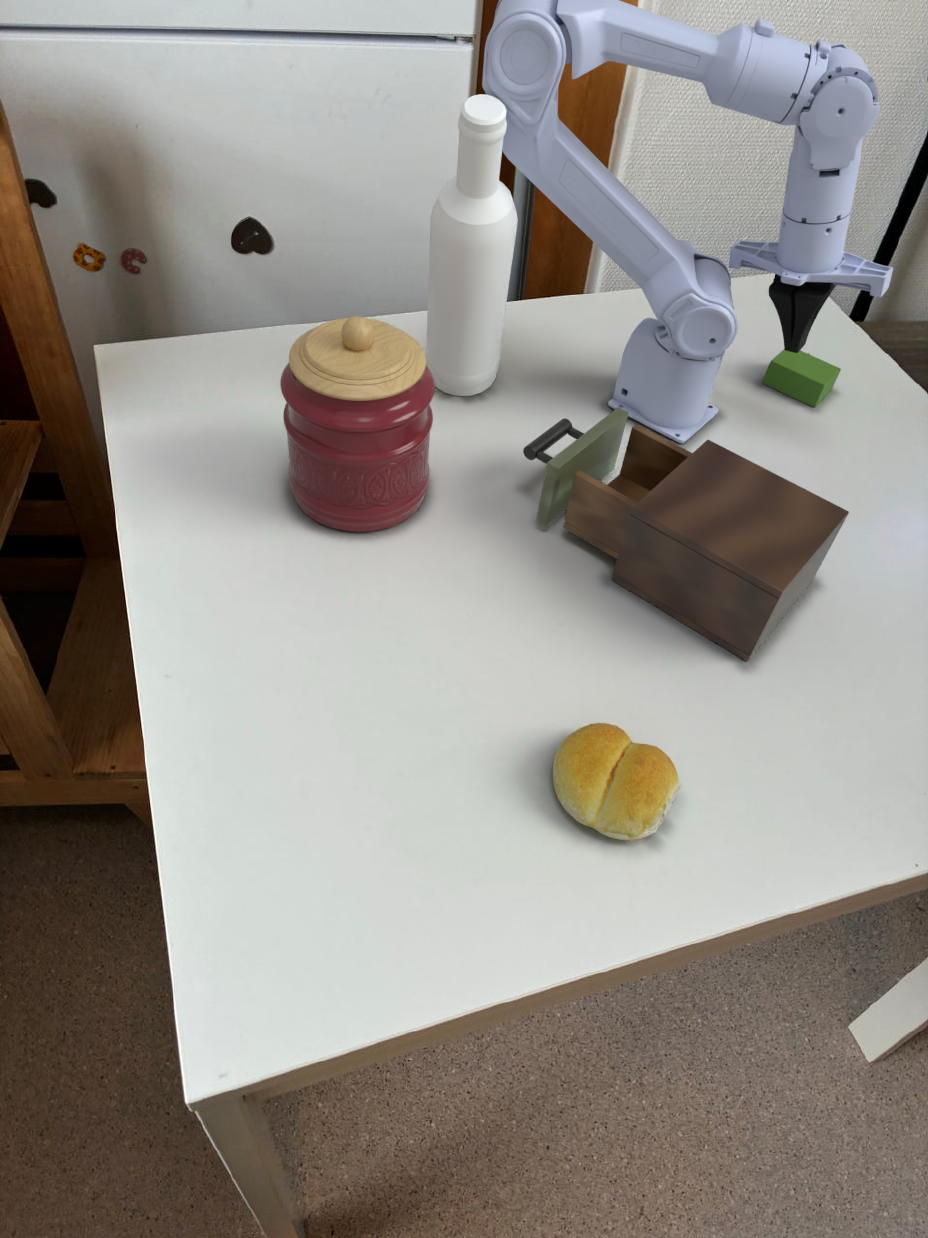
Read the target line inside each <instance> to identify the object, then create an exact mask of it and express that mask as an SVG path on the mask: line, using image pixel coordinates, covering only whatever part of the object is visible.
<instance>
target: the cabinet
mask: <svg viewBox="0 0 928 1238" xmlns="http://www.w3.org/2000/svg"><path fill="white" fill-rule="evenodd" d="M691 453H692V454H691V455H690V456H689V457H688V458H687V459H685V460H684V461H683V462H682V463H681V464H680V465H679V466H678V467H677V468H676V469H674V470H673V471H672V472H671V473H670V474H669V475H668V476H667V477H666V478H664V479H663V480H662V481H661V482H660V483H659V484H658V485H657V486H656V487H654V488H653V489H652V490H651V491H650V492H649V493H648V494H647V495H646V496H645V497H643V498H642V499H641V500H640V501H639V502H638V503H637V504H636V505H635V506H633V507H632V511H631V514H630V517H629V521H628V524H627V528H626V531H625V534H624V538H623V541H622V545H621V548H620V552H619V555H618V558H617V559H616V562H615V565H614V569H613V573H612V576H611V581H612V582H615V583H616V584H618V585H619V586H621V587H623V588H625V590H627V591H629V592H630V593H633V594H634V595H636V596H638V597H640V598H641V599H643V600H644V601H646V602H647V603H649V604H651V605H653V606H655V607H656V608H658V609H659V610H661V611H662V612H664V613H666V614H667V615H669V616H671V617H673V618H674V619H675V620H677V621H679V622H680V623H682V624H684V625H685V626H687V627H689V628H690V629H692V630H694V631H696V632H697V633H699V634H700V635H702V636H704V637H705V638H707V639H708V640H710V641H712V642H713V643H715V644H716V645H718V646H720V647H721V648H723V649H725V650H726V651H729V652H730V653H731V654H733V655H735V656H737V657H738V658H740V659H742V660H743V661H745V662H749V661H750V659H751V658H752V657H753V656H754V655H755V653H756V652H757V651H758V649H759V648H760V647H761V646H762V644H763V643H764V642H765V641H766V640H767V638H768V637H769V636H770V634H771V633H772V632H773V631H774V630H775V628H777V626H778V625H779V623H780V622H781V621H782V620H783V618H785V616H786V615H787V613H788V612H789V611H790V610H791V608H792V607H794V605H795V604H796V603H797V601H798V600H799V599H800V597H801V596H802V595H803V594H804V593H805V592H806V590H807V589H808V588H809V586H810V585H811V584H812V582H813V581H814V579H815V577H816V576H817V573H818V572H819V570H820V568H821V566H822V564H823V562H824V560H825V559H826V557H827V555H828V552H829V551H830V550H831V547H832V545H833V543H834V541H835V540H836V538H837V536H838V534H839V532H840V530H841V528H842V527H843V525H844V523H845V521H846V519H847V517H848V515H849V514H850V511H849V510H847V509H846V508H845V509H844V508H843V507H841V506H839V505H837V504H835V503H833V502H831V501H829V500H827V499H825V498H823V497H821V496H820V495H817V494H815V493H814V492H812V491H810V490H808V489H806V488H804V487H802V486H800V485H798V484H796V483H794V482H792V481H790V480H788V479H787V478H784V477H782V476H780V475H778V474H777V473H774V472H772V471H771V470H769V469H767V468H765V467H763V466H761V465H759V464H757V463H755V462H753V461H752V460H749V459H747V458H745V457H743V456H742V455H739V454H737V453H735V452H733V451H731V450H730V449H727V448H726V447H724V446H722V445H720V444H719V443H716V442H714V441H712V440H710V439H706V440H705V441H704V442H703V443H702V444H700V445H699V447H698V448H696V449H695V450H694V451H693V452H691Z"/></svg>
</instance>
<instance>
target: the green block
mask: <svg viewBox="0 0 928 1238" xmlns="http://www.w3.org/2000/svg"><path fill="white" fill-rule="evenodd" d="M841 371H842V368H841V367H838V366H836V365H834V364H831V363H829V362H827V361H825V360H823V359H820V358H818V357H816V356H814V355H812V354H809V353H807V352H805V351H803V350H802V349H801V350H800V351H799V352H798V353H794V352H790V351H785V350H784V349H782V350H781V351H780V352H779V353H778V354H776V356H774V357H773V358H772V359H771V360H770V362H769V365H768V368H767V369H766V371H765V372H766V373H765V375H764V378H763V381H762V384H763V385H765V386H768V387H770V388H771V389H774V390H775V391H777V392H779V393H782V394H785V395H786V396H788V397H791V398H792V399H795V400H797V401H799V402H801V403H803V404H806V405H808V406H810V407H812V408H816V407H817V406H818V405H819V404H820V403H821V402H822V401H823V400H824V399H825V398H826V397H827V396H828V395H830V393H831V392H832V390H833V388H834V386H835V384H836V381H837V379H838V377H839V375H840V373H841Z"/></svg>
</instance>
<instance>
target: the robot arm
mask: <svg viewBox="0 0 928 1238" xmlns="http://www.w3.org/2000/svg"><path fill="white" fill-rule="evenodd" d="M607 62H613V63H618V64H623V65H626V66H630V67H635V68H639V69H644V70H647V71H651V72H656V73H660V74H665V75H669V76H673V77H677V78H681V79H686V80H689V81H692V82H693V81H694V82H696V83H697V82H698V83H701V84H702V85H703V87H704V88H705V92H706V94H707V97H708V99H709V101H710V103H711V104H712V105H714V106H718V107H721V108H723V109H727V110H730V111H734V112H736V113H737V112H738V113H741V114H743V115H748V116H750V117H754V118H758V119H761V120H764V121H767V122H771V123H774V124H777V125H781V126H795V128H794V135H793V136H794V137H793V142H792V150H791V152H790V155H789V159H788V167H787V168H788V169H787V173H786V182H785V190H784V196H783V197H784V198H783V204H782V212H781V218H780V219H781V220H780V227H779V234H778V241H751V240H743V239H739V240H738V241H737V242H736V243H735V244H734V245H733V246H732V247H730V250H729V260H728V266H727V265H726V263H724V261H723V260H721V259H720V258H719V257H716V256H714V255H711V254H707V253H704V252H702V251H700V250H698V249H697V248H696V247H695V246H694V245H693V244H691V242H690V241H688V240H684V239H678V238H676V237H675V236H674V235H673V234H671V232H670V231H669V230H668V229H667V228H666V227H665V226H664V225H663V224H662V223H661V222H660V221H659V220H658V219H657V218H656V217H655V216H654V215H653V214H652V213H651V212H650V211H649V210H648V209H647V208H646V207H645V206H644V205H643V203H641V201H640V200H639V199H638V198H637V197H636V196H635V195H633V193H632V192H631V191H630V190H629V189H628V188H627V187H626V186H625V185H624V184H623V183H622V182H621V181H620V180H619V179H618V177H616V176H615V175H614V174H613V173H612V172H611V171H610V170H609V169H608V168H607V167H606V166H605V165H604V164H603V163H602V161H600V160H599V158H598V157H596V155H595V154H593V152H591V150H590V149H589V148H588V147H587V146H586V145H585V144H584V143H583V142H582V141H581V140H580V139H579V138H578V137H577V136H576V135H575V134H574V133H573V132H572V131H571V130H570V129H569V128H568V126H566V125H565V123H563V121H561V119H560V117H559V113H558V112H559V111H558V109H559V87H560V86H559V85H560V82H561V79H562V75H563V72H564V70H565V66H566V65H568V64H571V80H576V79H578V78H580V77H582V76H583V75H586V74H587V73H589V72H591V71H592V70H594V69H596V68H598V67H600V66H601V65H603V64H604V63H607ZM481 80H482V83H481V86H482V89H483V91H484V93H485V94H486V95H490V96H493V97H495V98H497V99H499V100H500V101H501V102H502V103H503V104H504V105H505V108H506V122H507V128H506V133H505V135H504V138H503V147H502V154H503V155H504V156H505V157H506V159H507V160H508V161H509V162H510V163H511V164H512V165H513V166H514V167H515V168H516V169H517V170H519V172H521V173H522V175H523V176H525V177H526V178H527V179H528V180H529V182H530V183H532V184H533V185H534V186H535V187H536V188H537V189H538V190H539V191H540V192H541V193H542V194H543V195H544V196H545V197H546V198H548V200H550V201H551V203H552V204H553V205H554V206H556V207H557V208H558V209H559V210H560V212H562V213H563V214H564V215H565V216H566V217H567V218H568V219H569V220H570V221H571V222H572V223H573V224H574V225H575V226H576V227H577V228H578V229H580V230H581V231H582V233H583V234H585V235H586V236H587V237H588V238H589V239H590V240H591V241H592V243H594V244H595V245H596V246H597V247H598V248H599V249H600V250H601V252H603V253H604V254H606V256H607V257H608V258H609V259H611V260H612V261H613V263H614V264H616V265H617V266H618V267H619V268H620V269H621V270H622V271H623V272H624V273H625V274H626V275H627V276H628V277H629V279H631V280H632V281H633V282H634V283H635V284H636V285H638V287H639V288H640V289H641V290H642V293H643V294H644V297H645V299H646V301H647V302H648V305H649V307H650V309H651V311H652V312H653V315H654V316H655V318H653V317H647V318H644V319H642V321H640V323H639V324H638V325H637V326H636V327H634V330H633V331H632V332H631V335H630V336H629V338H628V340H627V342H626V343H625V344H626V345H625V347H624V350H623V353H622V357H621V361H620V365H619V369H618V374H617V377H616V381H615V386H614V391H613V394H612V398H611V399H609V400H608V402H607V405H608V407H610V408H611V409H614V410H615V409H617V408H618V407H619V408H621V409H623V410H625V411H627V412H628V418H631V419H632V420H634V421H637V422H638V423H640V424H642V425H644V426H646V427H648V428H650V429H652V430H653V431H656V432H658V433H660V434H662V436H665V437H667V438H669V439H671V440H673V441H675V442H677V443H679V444H684V443H686V442H687V441H688V440H689V439H690V438H691V437H693V436H694V435H695V434H696V433H697V432H699V430H701V429H702V428H703V427H704V426H705V425H706V424H707V423H709V422H710V421H711V420H712V419H713V418H714V417H716V415H718V414H719V407H717V406H715V405H713V404H711V403H709V400H710V397H711V394H712V392H713V389H714V385H715V383H716V379H717V377H718V374H719V371H720V369H721V365H722V362H723V359H724V357H725V353H726V351H727V349H728V348H730V347H731V345H732V344H733V342H734V341H735V339H736V337H737V335H738V330H739V320H738V316H737V314H736V312H735V306H734V301H733V294H732V289H731V287H732V278H731V272H730V270H729V269H734V270H740V269H741V268H748V269H753V270H757V271H762V272H767V273H772V274H774V278H773V281H772V282H771V284H770V285H769V286H768V296H769V298H770V300H771V301H772V302H771V303H772V304H773V306H774V308H775V310H776V313H777V316H778V319H779V322H780V327H781V332H782V339H783V348H784V349H783V350H785V351H790V352H794V353H798V352H799V351H800V350H801V351H802V349H803V348H804V346H805V345H806V343H807V340H808V338H809V334H810V332H811V329H812V327H813V325H814V323H815V321H816V318H817V317H818V315H819V314H820V311H821V310H822V308H823V306H824V305H825V303H826V302H827V300H828V298H829V297H830V295H831V294H832V293H833V291H834V290H835V289H836V287H837V286H838V287H839V286H840V287H844V288H850V289H855V290H859V291H860V290H861V291H864V292H869V295H870V296H871V297H875V298H882V297H883V295H885V293H886V292H887V291H888V289H889V288H890V283H891V280H892V275H893V271H894V267H892V266H888V265H883V264H880V263H876V262H873V261H872V260H868V259H866V258H863V257H861V256H859V255H855V254H853V253H850V252H849V251H846V250H845V246H846V245H845V244H846V240H847V235H848V229H849V224H850V218H851V213H852V209H853V203H854V197H855V192H856V187H857V181H858V175H859V170H860V165H861V161H862V154H861V152H862V147H863V142H864V137H865V136H866V135H867V133H869V131H870V130H871V129H872V127H874V124H875V123H876V121H877V119H878V116H879V114H880V111H881V105H880V104H879V103H878V101H879V93H878V88H877V84H876V81H875V80H874V78H873V76H872V74H871V72H870V70H869V69H868V67H867V65H866V63H865V61H864V59H863V58H862V57H861V55H859V54H858V53H857V52H856V51H855V50H854V49H852V48H849V47H847V46H846V44H844V42H831V43H830V42H829V41H825V40H822V39H817V41H816V42H815V44H811V43H807V42H805V41H801V40H798V39H795V38H791V37H788V36H785V35H781V34H778V33H775V26H774V24H773V22H772V21H769V20H766V19H763V18H757V19H756V21H755V23H754V26H752V25H750V24H749V25H748V24H745V23H738V24H735V25H734V26H733V27H730V28H729V29H727V30H725V31H723V32H720V33H719V34H713V33H710V32H708V31H705V30H701V29H699V28H696V27H694V26H692V25H688V24H685V23H683V22H680V21H677V20H675V19H673V18H670V17H667V16H664V15H661V14H659V13H655V12H653V11H651V10H647V9H645V8H641V7H639V6H637V5H633V4H631V3H627V2H625V1H622V0H498V2H497V4H496V8H495V13H494V17H493V23H492V26H491V28H490V31H489V32H488V35H487V37H486V41H485V45H484V53H483V67H482V79H481Z"/></svg>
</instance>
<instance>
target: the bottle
mask: <svg viewBox="0 0 928 1238" xmlns="http://www.w3.org/2000/svg"><path fill="white" fill-rule="evenodd" d="M460 106H461V107H460V112H459V113H460V114H459V116H458V120H457V128H458V131H459V132H458V147H457V164H456V176H454V177H452V178H450V179H449V180H447V181H446V182H445V183H444V185H442V187H441V188H440V190H439V192H438V193H437V196H436V197H435V198H436V199H435V201H434V202H433V203H434V204H433V205H432V209H431V214H430V220H429V221H430V222H429V253H428V254H429V255H428V281H427V282H428V283H427V312H426V313H427V314H426V341H425V348H424V353H425V356H426V365H427V367H428V368H429V369H430V371H431V373H432V375H433V378H434V383H435V388H437V389H438V390H440V391H442V392H443V393H445V394H449V395H452V396H455V397H472V396H475V395H478V394H481V393H483V392H484V391H486V390H487V389H488V388H489V389H490V387H491V386H492V385H493V383H494V382H495V380H496V379H497V373H498V370H499V365H500V359H501V354H502V353H501V352H502V349H501V345H502V338H503V331H504V324H505V317H506V309H507V303H508V302H507V301H508V295H509V289H510V282H511V281H510V279H511V273H512V272H511V271H512V265H513V257H514V252H515V251H514V250H515V244H516V237H517V230H518V229H517V228H518V224H519V223H518V221H519V219H518V213H517V209H516V206H515V202H514V198H513V196H512V193H511V190H510V189H509V188H508V187H507V186H506V185H505V183H504V182H502V181H501V180H500V173H501V165H502V156H503V155H502V154H503V150H502V147H503V138H504V135H505V133H506V128H507V122H506V108H505V105H504V104H503V103H502V102H501V101H500V100H499V99H497V98H495V97H493V96H490V95H486V93H485V94H483V93H482V94H481V93H479V94H474V95H471V96H470V97H468V98H466V99H465V100H464V101H463V102H462V103H461V105H460Z"/></svg>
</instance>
